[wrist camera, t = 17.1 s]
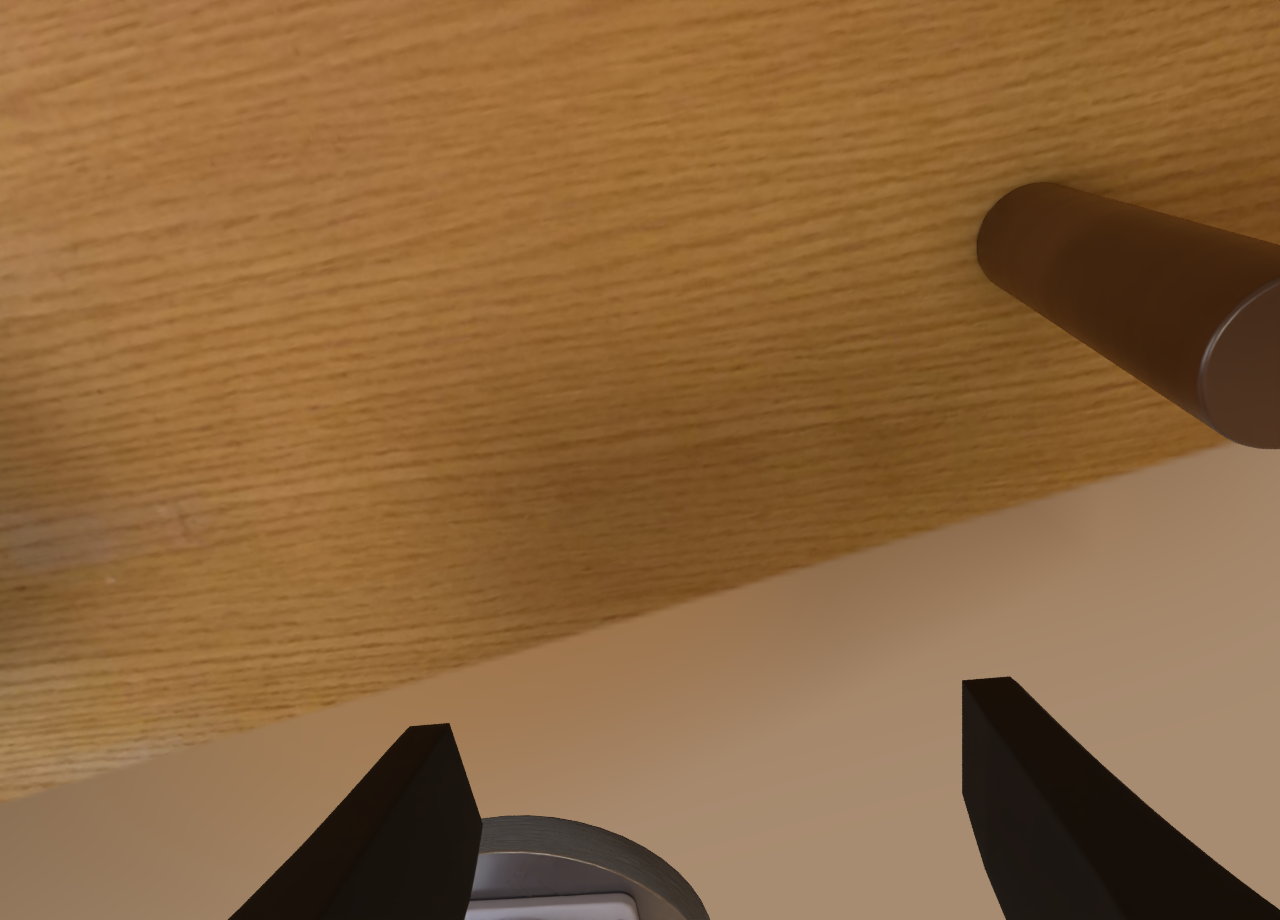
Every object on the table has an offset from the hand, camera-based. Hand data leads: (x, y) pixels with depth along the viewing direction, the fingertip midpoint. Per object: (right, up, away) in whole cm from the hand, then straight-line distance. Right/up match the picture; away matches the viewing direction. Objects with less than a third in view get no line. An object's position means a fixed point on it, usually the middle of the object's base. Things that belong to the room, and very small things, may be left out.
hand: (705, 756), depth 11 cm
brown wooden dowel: (+8, +9, +7) cm, 14 cm away
